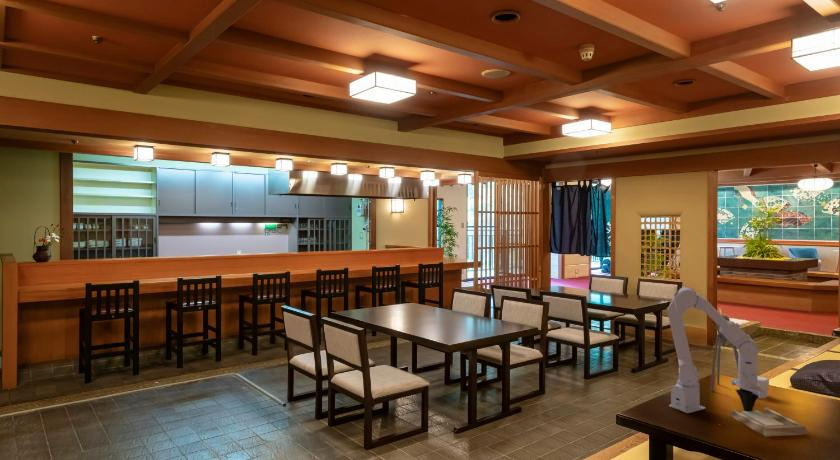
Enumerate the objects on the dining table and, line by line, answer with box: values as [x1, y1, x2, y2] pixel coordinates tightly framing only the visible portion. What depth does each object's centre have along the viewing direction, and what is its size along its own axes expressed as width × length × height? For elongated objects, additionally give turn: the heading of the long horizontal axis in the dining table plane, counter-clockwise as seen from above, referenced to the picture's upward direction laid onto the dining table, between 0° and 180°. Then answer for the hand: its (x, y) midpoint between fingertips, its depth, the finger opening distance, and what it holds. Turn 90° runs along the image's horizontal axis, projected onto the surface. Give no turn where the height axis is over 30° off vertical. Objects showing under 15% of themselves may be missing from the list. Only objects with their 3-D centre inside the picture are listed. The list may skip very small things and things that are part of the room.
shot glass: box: [757, 375, 770, 398], centre depth 197 cm, size 7×7×7 cm
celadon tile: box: [740, 410, 769, 420], centre depth 175 cm, size 6×6×2 cm
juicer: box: [710, 314, 739, 392], centre depth 206 cm, size 10×11×30 cm
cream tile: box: [754, 417, 784, 427], centre depth 169 cm, size 6×6×2 cm
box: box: [730, 407, 807, 438], centre depth 170 cm, size 16×13×2 cm
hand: (748, 411), depth 179 cm, fingers closed
